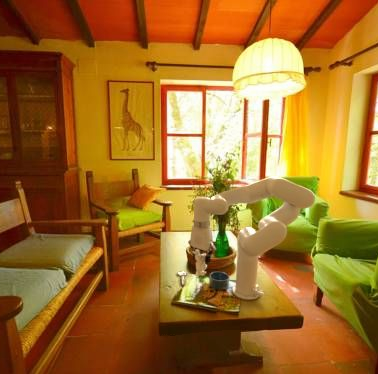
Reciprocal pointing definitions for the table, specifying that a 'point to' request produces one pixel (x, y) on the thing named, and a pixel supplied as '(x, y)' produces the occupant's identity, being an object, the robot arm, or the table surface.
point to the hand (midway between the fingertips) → (201, 260)
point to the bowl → (219, 280)
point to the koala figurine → (200, 263)
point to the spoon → (182, 276)
